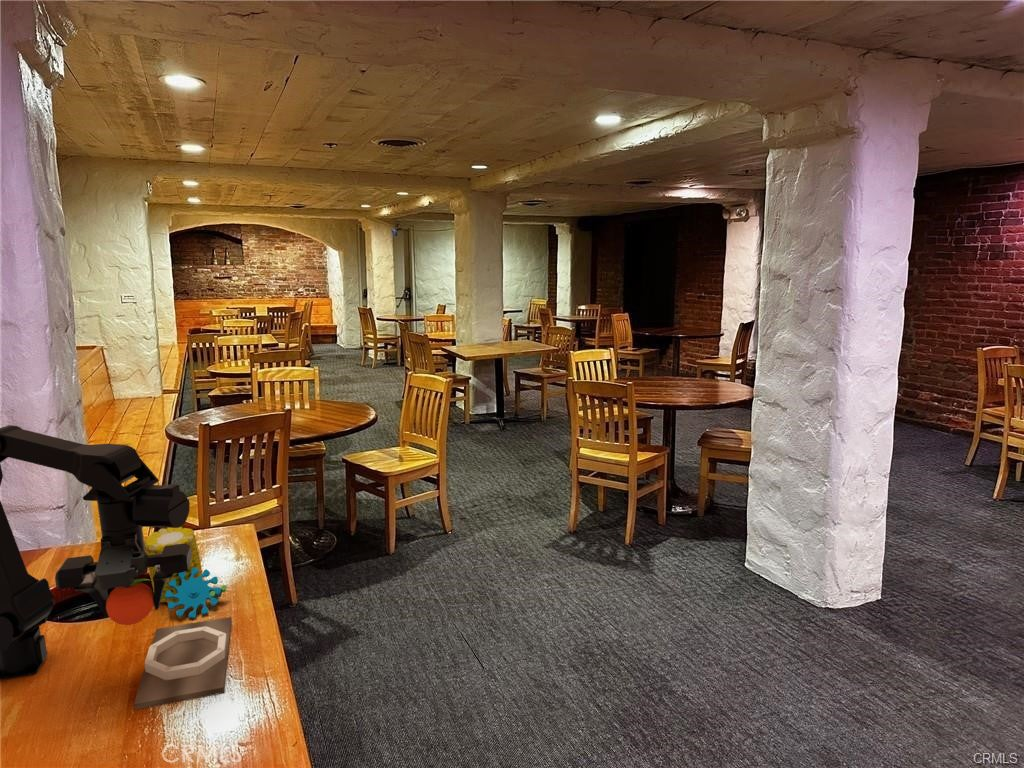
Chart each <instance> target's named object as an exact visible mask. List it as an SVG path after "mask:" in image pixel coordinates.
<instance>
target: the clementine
mask: <svg viewBox="0 0 1024 768" xmlns="http://www.w3.org/2000/svg"><path fill="white" fill-rule="evenodd" d="M145 581H149V582H151V583H152V582H153V581H151V579H149V578H148V579H147V578H137V579H135V580H134V582H133V584H131V585H130V586H127V587H114V589H112V590H111V591H110V593H109V594H108V599H107V602H106V610H107V613H108V616H109V617H108V618H109V619H110V620H111V621H113V622H114V623H116V624H117V625H123V626H130V625H132V626H133V625H134V624H138V623H140V622H142V621H144V619H146V618H147V617H148V616H149V615H150V613H151V611H152V610H153V607H154V592H153V589H152V588H151V587H150V586H149V585H147V584H146V583H145ZM153 583H154V582H153Z"/></svg>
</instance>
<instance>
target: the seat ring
mask: <svg viewBox="0 0 1024 768" xmlns="http://www.w3.org/2000/svg"><path fill="white" fill-rule="evenodd" d="M201 638H204V639H207V640H210V641H212V642H215V643H218V646H217V650H215V651H214V652H212V653H210V654H209V655H207V656H206V657H204V658H203V659H201V660H200V661H198V662H195V663H190V664H184V665H178V666H173V667H168V666H166V665H164V664H161V663H159V662H156V659H157V656H158V654H160V653H161V652H163V651H165V650H166V649H168V648H170V647H171V646H173V645H175V644H176V643H178V642H183V641H189V640H195V639H201ZM226 645H227V637H226V633H223V632H221V631H218V630H215V629H212V628H210V627H207V626H205V627H199V628H193V629H186V630H180V631H176V632H173V633H172V634H170V635H168V636H166V637H165V638H163V639H161V640H159V641H158V642H156V643H154V644H153V645H152V644H151V645H150V646H149V647H148V651H147V655H146V657H145V660H144V669H145V671H146V672H147V673H150V674H152V675H155V676H157V677H159V678H162V679H164V680H171V679H177V678H183V677H188V676H194V675H199V674H201V673H203V672H204V671H206V670H207V669H209V668H210V667H212V666H213V665H215V664H216V663H218V662H219V661H221V660H222V659H224V658H225V653H226Z"/></svg>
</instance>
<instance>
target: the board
mask: <svg viewBox="0 0 1024 768" xmlns="http://www.w3.org/2000/svg"><path fill="white" fill-rule="evenodd" d="M232 620H233V619H232V616H229V617H223V618H216V619H209V620H203V621H195V622H192V623H191V622H190V623H186V624H185V623H184V624H178V625H173V626H166V627H164V626H163V627H160V628H156V629H155V632H154V635H153V639H152V643H151V645H153V644H154V643H156V642H158V641H159V640H161V639H163V638H165V637H166V636H168V635H170V634H172V633H173V632H176V631H180V630H186V629H193V628H199V627H205V626H207V627H210V628H212V629H215V630H218V631H221V632H223V633H226V637H227V645H226V653H225V658H224V659H222V660H221V661H219V662H218V663H216V664H215V665H213V666H212V667H210V668H209V669H207V670H206V671H204V672H203V673H201V674H199V675H194V676H188V677H183V678H177V679H171V680H164V679H162V678H159V677H157V676H155V675H152V674H150V673H147V672H146V671H145V668H144V669H143V673H142V675H141V676H142V677H141V679H140V683H139V684H138V685H139V686H138V689H137V693H136V696H135V700H134V703H133V707H134V709H133V710H134V711H135V710H140V709H145V708H151V707H156V706H162V705H166V704H171V703H176V702H182V701H187V700H192V699H193V700H194V699H198V698H202V697H203V698H204V697H208V696H213V695H218V694H224V693H225V688H226V686H225V685H226V679H227V678H226V677H227V667H228V659H229V650H230V642H231V641H230V639H231V631H232ZM217 646H218V643H215V642H212V641H210V640H207V639H204V638H201V639H195V640H189V641H183V642H178V643H176V644H175V645H173V646H171V647H170V648H168V649H166V650H165V651H163V652H161V653H160V654H158V656H157V659H156V662H159V663H161V664H164V665H166V666H168V667H173V666H178V665H184V664H190V663H195V662H198V661H200V660H201V659H203V658H204V657H206V656H207V655H209V654H210V653H212V652H214V651H215V650H217Z"/></svg>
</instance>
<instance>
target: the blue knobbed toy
mask: <svg viewBox="0 0 1024 768" xmlns="http://www.w3.org/2000/svg"><path fill="white" fill-rule="evenodd" d="M197 573H198V569H197V568H192V569H191V576H190V578H189V579H188V580H184V577H185V576H186V572H181V573H179V575H178V576H179V578H180V579H181V581H182V584H181V586H177V585H176V580H175V579H173V580H171V581H170V582H169V586H170V587H173V588H175V589H176V590H177V592H178V593H177V594H175V595H174V594H172V592H171V591H167V592H166V594H165V598H176V599H178V600H179V602H178V603H175V602H169V603H167V607H168V610H170V611H171V610H173V609H174V608H176V607H181V606H183V607H184V608H182V609H177V610H176V612H175V614H176V616H177V617H179V618H182V617H183V616H184V614H185V612H186V611H187V610H189V609H190V608H192V609H193V610H192V611H190V612H189V613H188V618H189V619H193V620H194V619H196V617H197V610H198V608H199V607H200V606H201V607H202V609H201V611H200V612H201V615H207V614H208V613H209V611H210V609H209V608H208V607H207V605H206V601H207V600H209V601H210V606H212V607H215V606H217V604H218V602H219V599H220V598H221V596H222V594H223V593H225V592H226V591H227V588H228V587H227V585H225V584H222V585H221V587H220V586H218V587H217V586H216V587H211V586H210V585H209V584H212V585H216V584H217V585H218V582H219V579H218V577H217V576H213V577H212V578H210V579H207V580H205V579H204V578H207V577H210V575H211V572H210V570H208V569H207V568H205V569H204V570H203V571H202V575H201V576H200V577H198V578H194V577H193V576H194V575H196V574H197ZM202 578H203V579H204V580H202Z"/></svg>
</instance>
